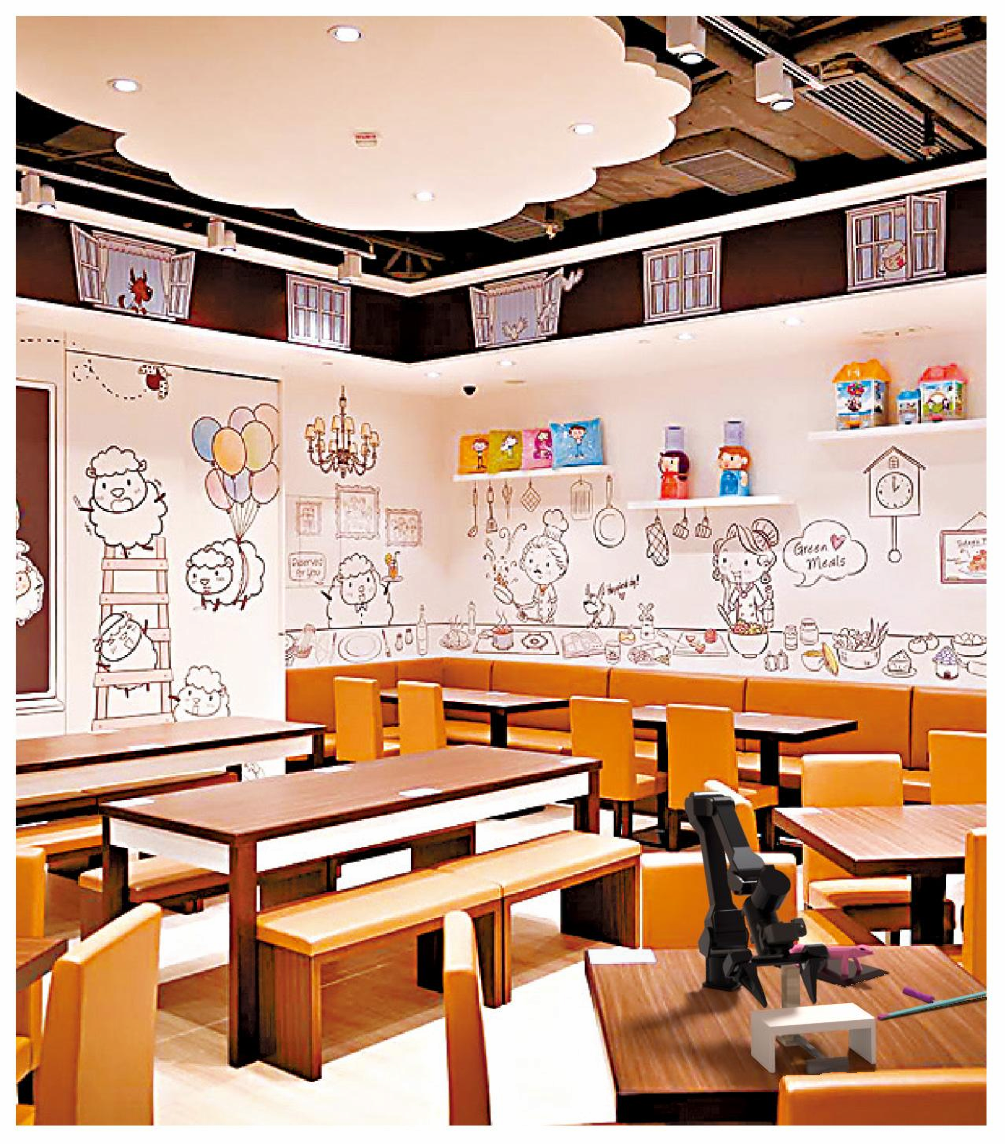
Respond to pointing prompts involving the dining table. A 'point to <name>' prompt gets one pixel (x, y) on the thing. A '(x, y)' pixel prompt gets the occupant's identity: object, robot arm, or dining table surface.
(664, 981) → the dining table surface
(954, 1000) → the squeegee
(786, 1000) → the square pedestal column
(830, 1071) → the steel token
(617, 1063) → the dining table surface
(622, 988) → the dining table surface
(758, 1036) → the white footstool bench
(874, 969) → the lizard figurine
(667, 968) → the dining table surface
